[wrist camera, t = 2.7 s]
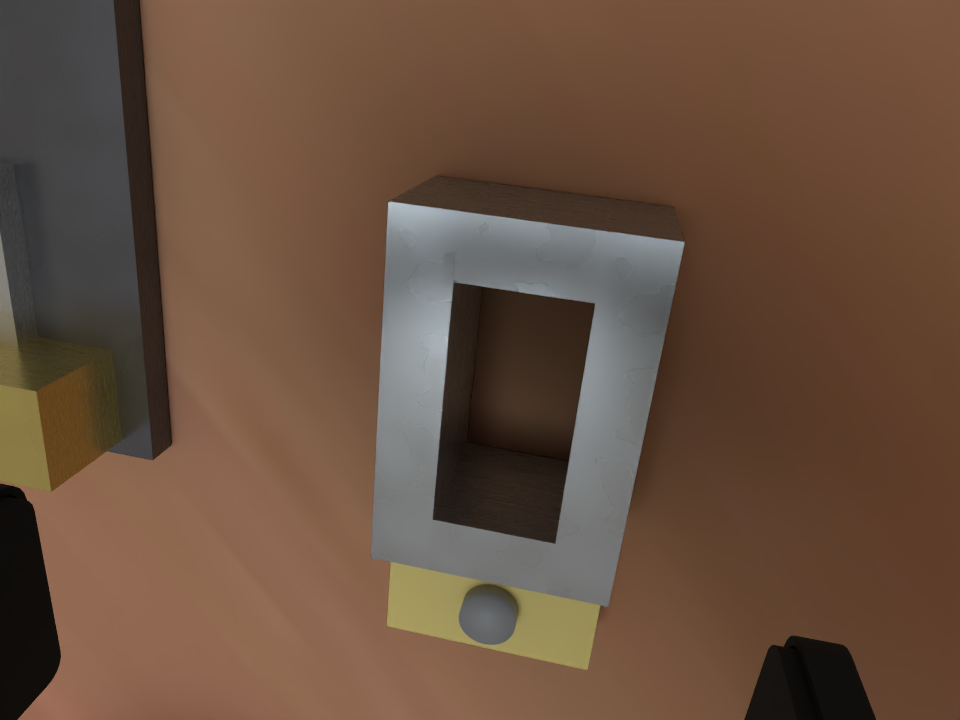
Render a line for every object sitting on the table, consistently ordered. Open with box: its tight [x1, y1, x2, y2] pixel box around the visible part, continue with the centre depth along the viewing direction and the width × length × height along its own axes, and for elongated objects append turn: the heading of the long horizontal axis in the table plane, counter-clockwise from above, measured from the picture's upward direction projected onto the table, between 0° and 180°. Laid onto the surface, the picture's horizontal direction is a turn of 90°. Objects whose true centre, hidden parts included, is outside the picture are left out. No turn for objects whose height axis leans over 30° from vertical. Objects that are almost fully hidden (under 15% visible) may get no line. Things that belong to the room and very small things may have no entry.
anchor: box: [387, 562, 600, 670], centre depth 22 cm, size 6×3×3 cm, turn 84°
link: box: [371, 176, 685, 607], centre depth 18 cm, size 6×9×4 cm, turn 174°
